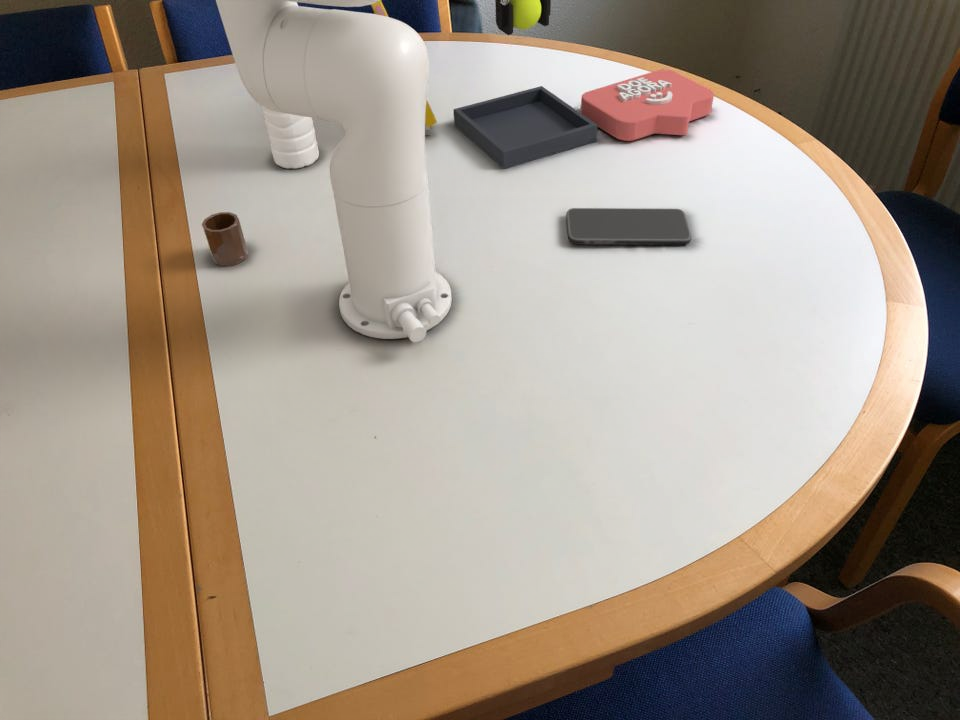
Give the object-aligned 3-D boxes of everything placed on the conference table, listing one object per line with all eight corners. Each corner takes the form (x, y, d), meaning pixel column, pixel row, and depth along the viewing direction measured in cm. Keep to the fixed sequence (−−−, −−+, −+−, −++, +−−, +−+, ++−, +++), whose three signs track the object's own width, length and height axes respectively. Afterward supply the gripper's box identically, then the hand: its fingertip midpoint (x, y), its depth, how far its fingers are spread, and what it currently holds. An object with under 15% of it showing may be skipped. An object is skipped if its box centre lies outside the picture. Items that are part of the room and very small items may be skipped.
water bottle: (323, 147, 117) (291, -33, 100) (313, 170, 113) (277, -16, 96) (266, 147, 118) (224, -33, 101) (253, 169, 113) (207, -16, 96)
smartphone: (693, 240, 95) (568, 239, 96) (692, 247, 96) (568, 246, 97) (683, 207, 101) (565, 207, 101) (682, 213, 101) (565, 213, 102)
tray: (596, 141, 116) (597, 124, 114) (503, 169, 111) (503, 152, 109) (541, 101, 126) (541, 85, 125) (454, 125, 121) (453, 109, 120)
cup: (252, 259, 97) (242, 225, 94) (217, 270, 96) (207, 235, 92) (242, 242, 100) (233, 208, 96) (209, 252, 98) (198, 218, 95)
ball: (548, 30, 108) (549, -9, 104) (516, 38, 106) (515, -1, 102) (529, 18, 111) (529, -19, 107) (497, 26, 109) (497, -12, 106)
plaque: (639, 129, 110) (576, 91, 120) (636, 154, 113) (574, 115, 123) (734, 96, 117) (666, 63, 126) (729, 121, 119) (663, 86, 129)
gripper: (476, -109, 91) (481, 50, 103) (600, -131, 96) (590, 23, 108) (446, -122, 95) (455, 31, 108) (566, -142, 101) (561, 6, 113)
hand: (523, 25), depth 108 cm, fingers closed on ball, 4 cm apart
